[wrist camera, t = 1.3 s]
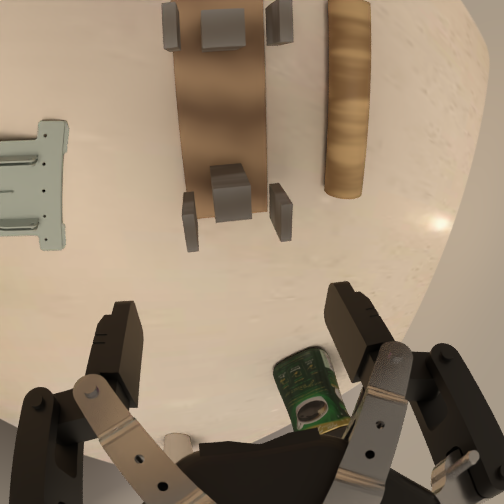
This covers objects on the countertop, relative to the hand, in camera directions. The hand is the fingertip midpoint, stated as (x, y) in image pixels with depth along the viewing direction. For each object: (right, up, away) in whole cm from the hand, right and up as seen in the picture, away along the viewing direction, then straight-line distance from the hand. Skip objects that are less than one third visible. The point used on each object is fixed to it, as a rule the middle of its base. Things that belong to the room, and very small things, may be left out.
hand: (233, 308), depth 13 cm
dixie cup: (-16, -39, +49) cm, 64 cm away
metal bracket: (-25, +10, +15) cm, 31 cm away
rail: (+10, +18, +16) cm, 26 cm away
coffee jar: (+9, -16, +38) cm, 42 cm away
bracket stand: (-2, +16, +15) cm, 22 cm away
